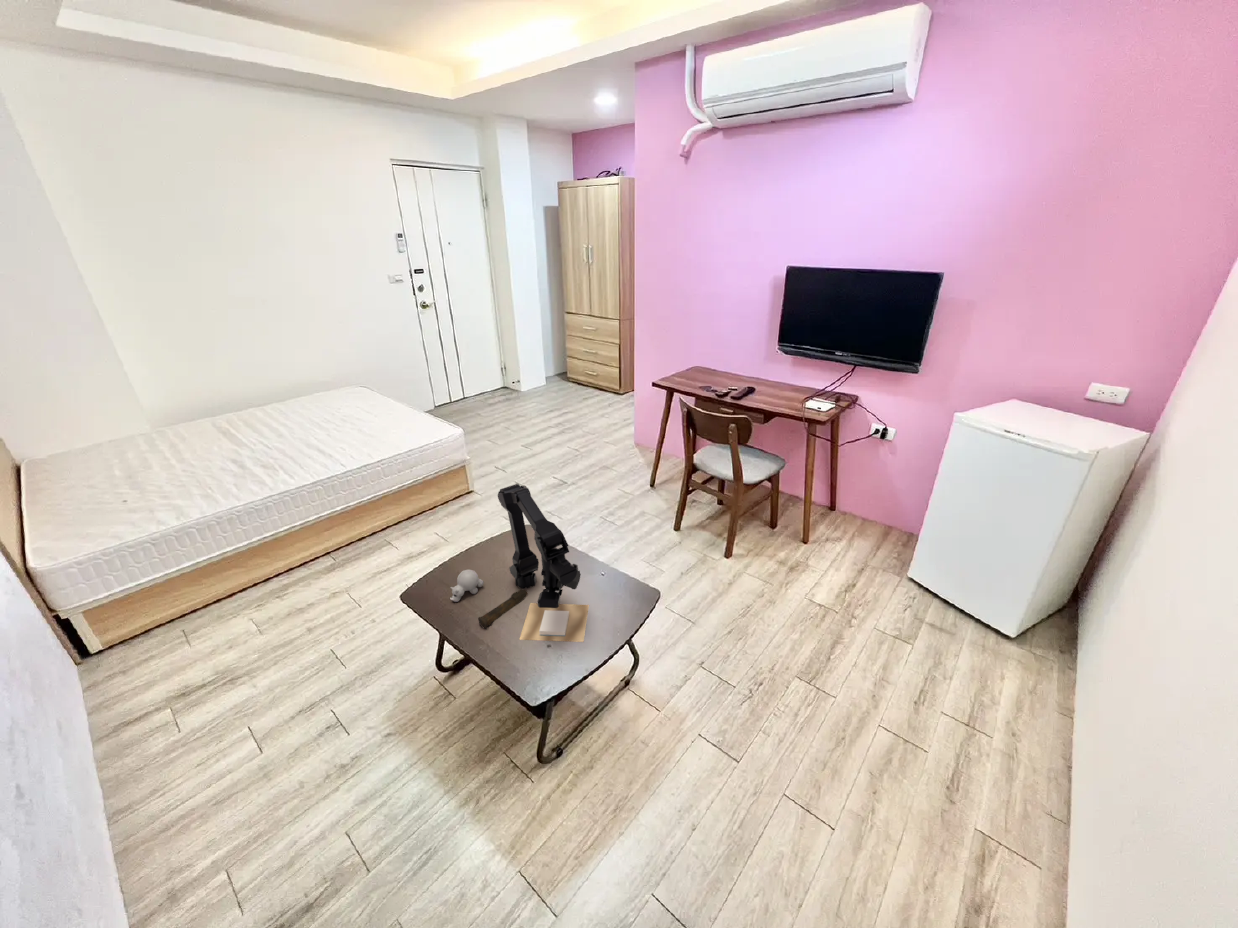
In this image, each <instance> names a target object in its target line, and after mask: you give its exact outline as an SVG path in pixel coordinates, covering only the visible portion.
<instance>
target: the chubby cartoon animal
mask: <svg viewBox="0 0 1238 928" xmlns="http://www.w3.org/2000/svg"><path fill="white" fill-rule="evenodd" d="M483 585H484V580H483V579H481V578H479V575H478V573H477V572H476V570H472V569H464V570H462V571H461V572H460V573H459V574H458V576H457V579H456V585H454V586H450V589H451V593H452V596H451V597H449V599H450V600H451V601H453V602H455V603H457V602H459V601H460V600H461V599H462V597H463V596H464V595H465V592H467V591H469V593H471V594H472V595H476V594H477V593H478V590H479V589H478V588H481V587H483Z"/></svg>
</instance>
